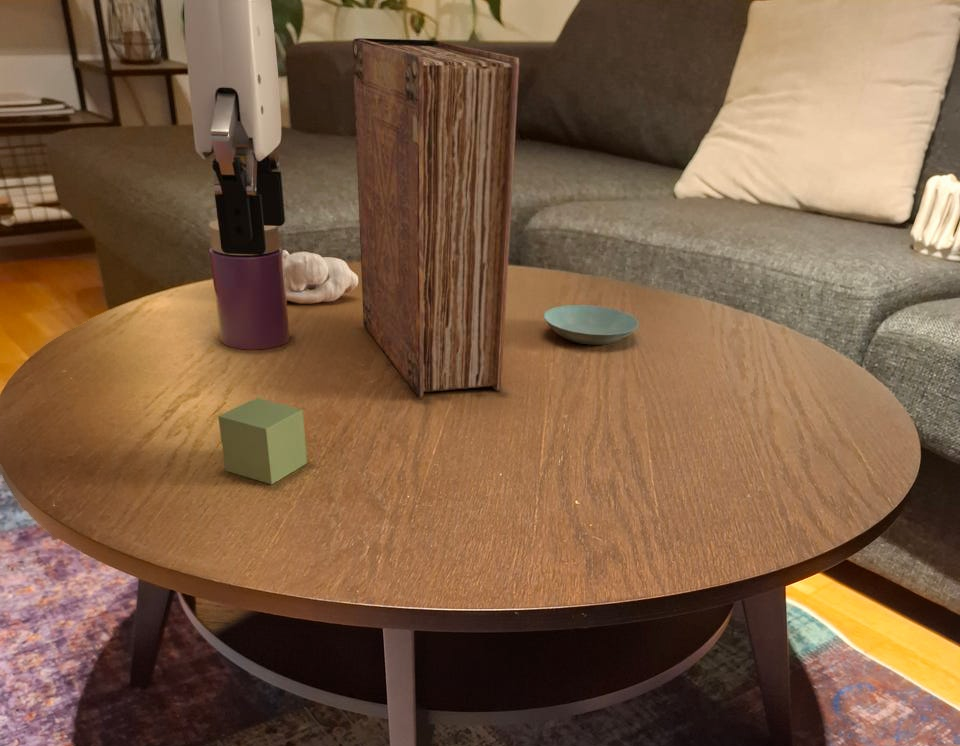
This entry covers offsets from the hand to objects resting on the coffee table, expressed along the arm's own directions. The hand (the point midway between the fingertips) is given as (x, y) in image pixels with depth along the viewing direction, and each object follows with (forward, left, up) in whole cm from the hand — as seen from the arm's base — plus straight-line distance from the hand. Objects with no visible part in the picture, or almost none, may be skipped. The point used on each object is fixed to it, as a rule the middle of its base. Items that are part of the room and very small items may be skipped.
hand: (255, 238), depth 71 cm
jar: (-22, +24, -18) cm, 37 cm away
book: (-2, +30, -18) cm, 35 cm away
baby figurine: (-27, +41, -18) cm, 53 cm away
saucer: (+11, +48, -18) cm, 53 cm away
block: (+1, -3, -18) cm, 18 cm away
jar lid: (-22, +24, -6) cm, 33 cm away
